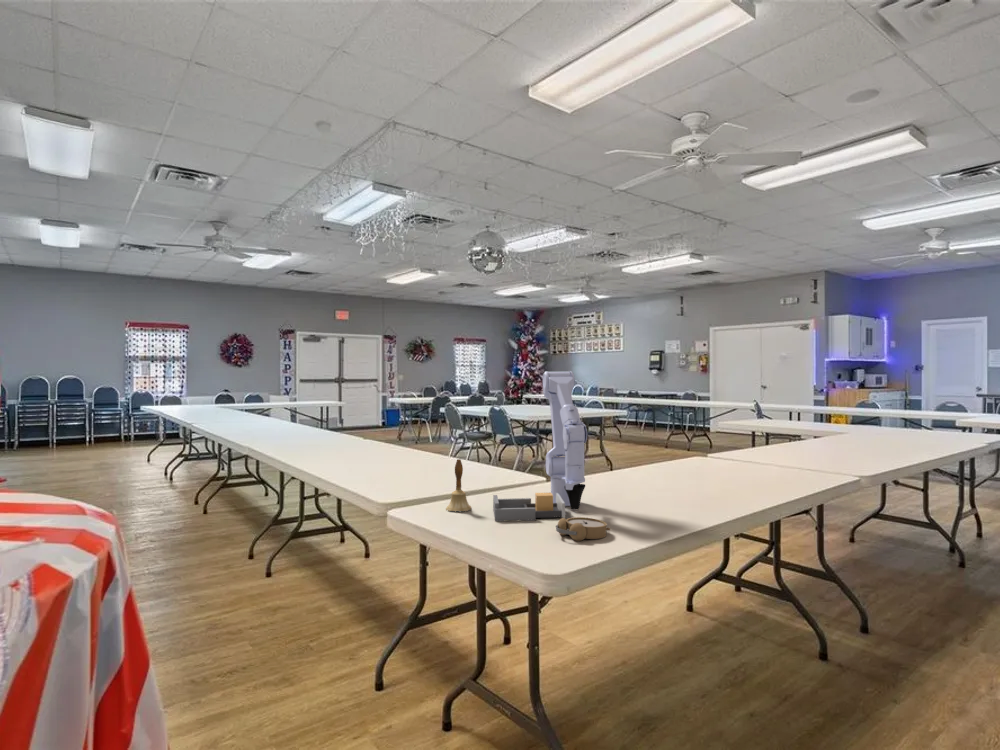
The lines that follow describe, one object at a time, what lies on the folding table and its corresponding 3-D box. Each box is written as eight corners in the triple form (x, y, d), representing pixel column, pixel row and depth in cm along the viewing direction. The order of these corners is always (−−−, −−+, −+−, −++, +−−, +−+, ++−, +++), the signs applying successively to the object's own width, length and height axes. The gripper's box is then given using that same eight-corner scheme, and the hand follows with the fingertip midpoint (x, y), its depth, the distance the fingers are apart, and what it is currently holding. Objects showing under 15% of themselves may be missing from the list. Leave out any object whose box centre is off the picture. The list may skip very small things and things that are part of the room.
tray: (558, 507, 181) (558, 493, 181) (565, 518, 169) (565, 503, 168) (522, 508, 181) (522, 493, 181) (527, 519, 168) (526, 504, 168)
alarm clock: (616, 525, 153) (574, 524, 145) (614, 543, 152) (571, 543, 144) (588, 516, 162) (547, 514, 154) (586, 533, 162) (545, 532, 154)
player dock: (530, 509, 181) (530, 493, 181) (535, 520, 168) (535, 503, 168) (493, 509, 180) (493, 494, 180) (495, 521, 167) (494, 504, 167)
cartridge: (551, 508, 177) (551, 492, 177) (553, 511, 173) (553, 495, 173) (535, 508, 177) (535, 492, 176) (536, 512, 173) (536, 495, 172)
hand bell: (447, 505, 186) (447, 457, 186) (472, 505, 186) (472, 457, 185) (444, 512, 178) (443, 462, 177) (470, 512, 178) (470, 461, 177)
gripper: (568, 459, 180) (568, 502, 180) (555, 467, 166) (555, 513, 166) (590, 460, 177) (590, 503, 177) (578, 468, 164) (579, 515, 164)
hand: (575, 508), depth 172 cm, fingers closed
